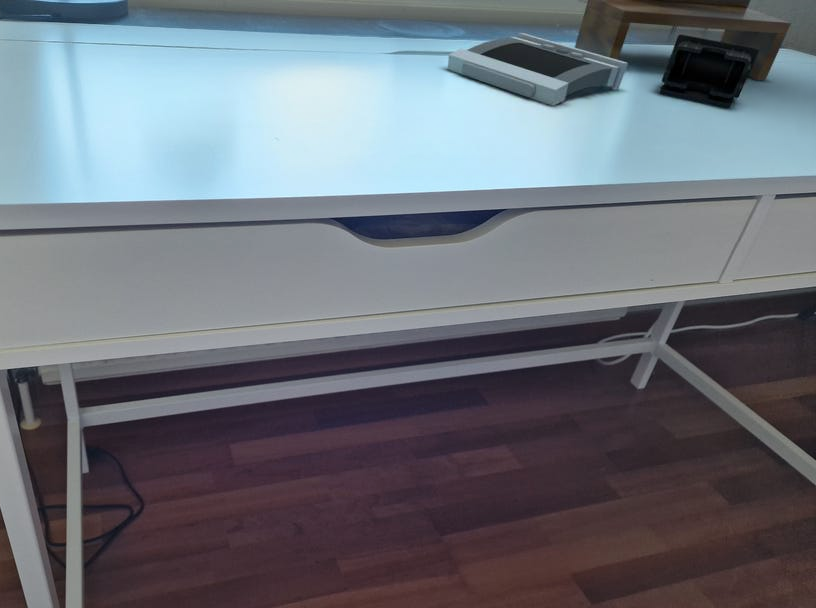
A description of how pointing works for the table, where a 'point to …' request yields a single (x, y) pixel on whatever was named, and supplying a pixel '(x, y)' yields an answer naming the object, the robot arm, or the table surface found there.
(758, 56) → the shoe shelf
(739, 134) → the table surface
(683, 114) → the table surface
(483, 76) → the alarm clock
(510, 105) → the table surface
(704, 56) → the end cap
